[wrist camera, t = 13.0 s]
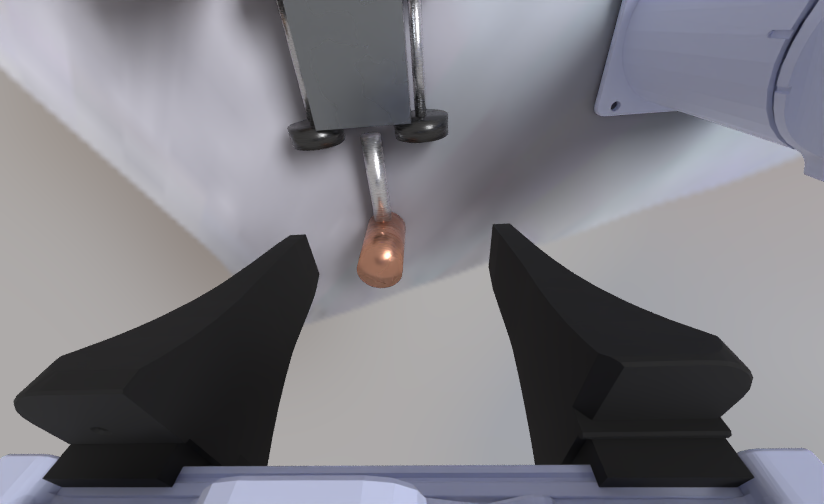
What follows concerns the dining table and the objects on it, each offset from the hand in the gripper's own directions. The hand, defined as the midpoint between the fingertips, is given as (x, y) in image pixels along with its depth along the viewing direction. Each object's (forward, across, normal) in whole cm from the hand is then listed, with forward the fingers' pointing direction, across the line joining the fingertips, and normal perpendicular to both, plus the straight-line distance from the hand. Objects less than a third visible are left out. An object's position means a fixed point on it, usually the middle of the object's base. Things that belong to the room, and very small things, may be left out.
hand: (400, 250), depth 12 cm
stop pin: (+10, +2, +2) cm, 10 cm away
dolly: (+10, +2, -6) cm, 12 cm away
